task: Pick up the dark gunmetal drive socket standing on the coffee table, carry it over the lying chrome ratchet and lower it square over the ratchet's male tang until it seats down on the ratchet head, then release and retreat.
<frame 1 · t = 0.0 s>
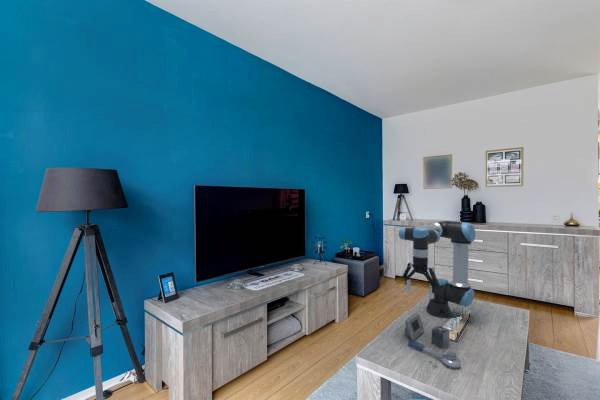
hand: (419, 294, 152), 28 cm above the table, fingers open, 13 cm apart
digital clock: (414, 335, 164), on the table
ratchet: (451, 364, 136), on the table
socket: (440, 344, 154), on the table
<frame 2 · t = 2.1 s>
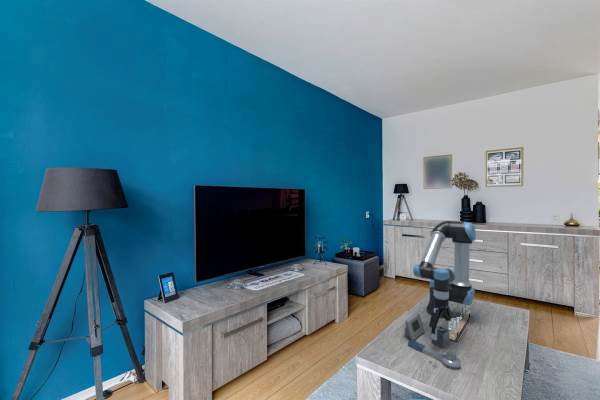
hand: (440, 335, 154), 5 cm above the table, fingers open, 13 cm apart
nothing on the table moved.
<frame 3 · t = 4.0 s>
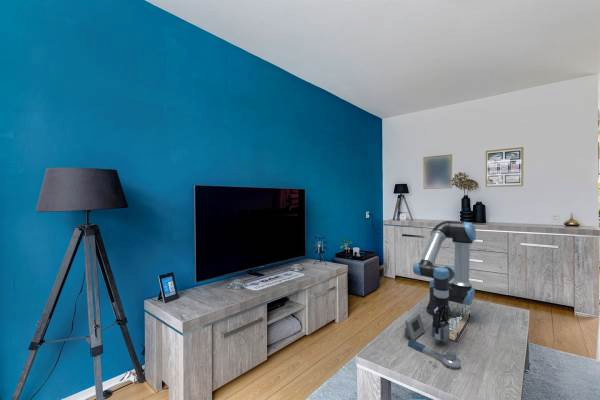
hand: (440, 336, 154), 4 cm above the table, fingers closed on socket, 6 cm apart
socket: (440, 337, 154), point 4 cm above the table, touching gripper
everything else where it was.
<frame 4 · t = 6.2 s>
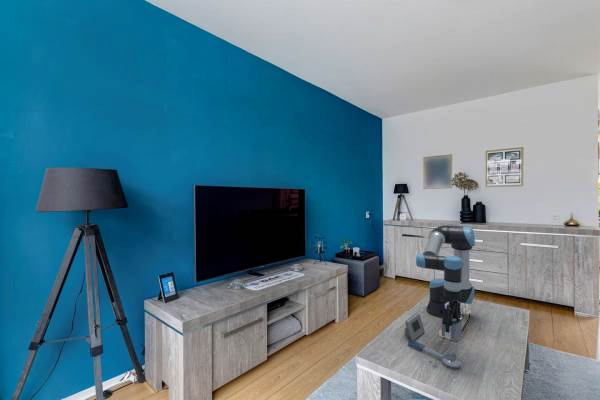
hand: (451, 335, 135), 14 cm above the table, fingers closed on socket, 6 cm apart
socket: (451, 336, 135), point 14 cm above the table, touching gripper
everything else where it was.
when the fingers open (3 cm above the table, at t = 8.2 s): socket stays where it is, resting on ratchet.
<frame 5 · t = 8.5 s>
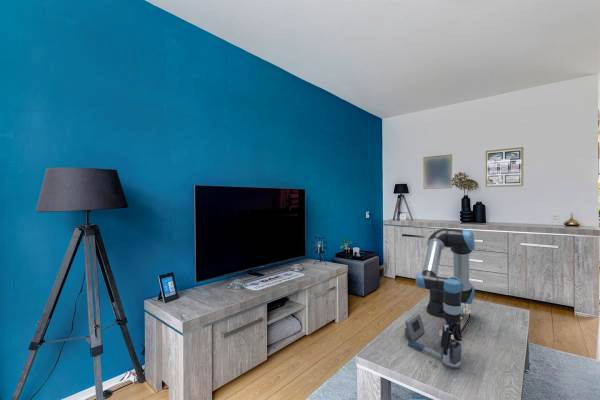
hand: (451, 356, 136), 4 cm above the table, fingers open, 10 cm apart
socket: (451, 359, 136), point 2 cm above the table, touching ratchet
everything else where it was.
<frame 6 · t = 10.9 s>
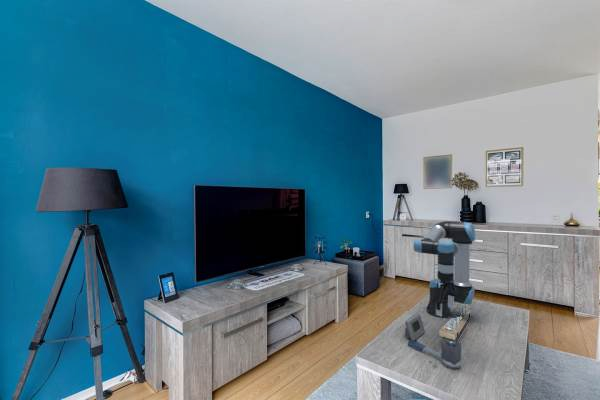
hand: (445, 311, 145), 22 cm above the table, fingers open, 13 cm apart
nothing on the table moved.
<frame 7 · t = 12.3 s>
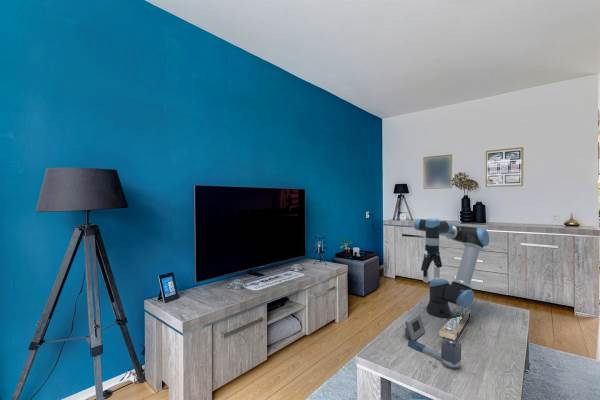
hand: (431, 279, 166), 32 cm above the table, fingers open, 13 cm apart
nothing on the table moved.
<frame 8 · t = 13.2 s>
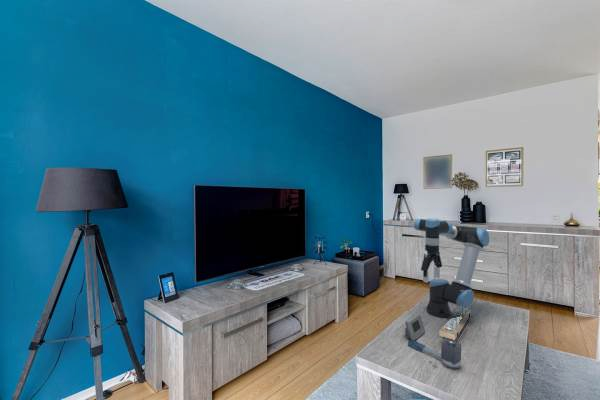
hand: (431, 279, 166), 32 cm above the table, fingers open, 13 cm apart
nothing on the table moved.
at the end: socket 0.1 cm off-centre on the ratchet, point 2.5 cm above the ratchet's base; socket tilted 0°; the gripper is holding nothing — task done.
